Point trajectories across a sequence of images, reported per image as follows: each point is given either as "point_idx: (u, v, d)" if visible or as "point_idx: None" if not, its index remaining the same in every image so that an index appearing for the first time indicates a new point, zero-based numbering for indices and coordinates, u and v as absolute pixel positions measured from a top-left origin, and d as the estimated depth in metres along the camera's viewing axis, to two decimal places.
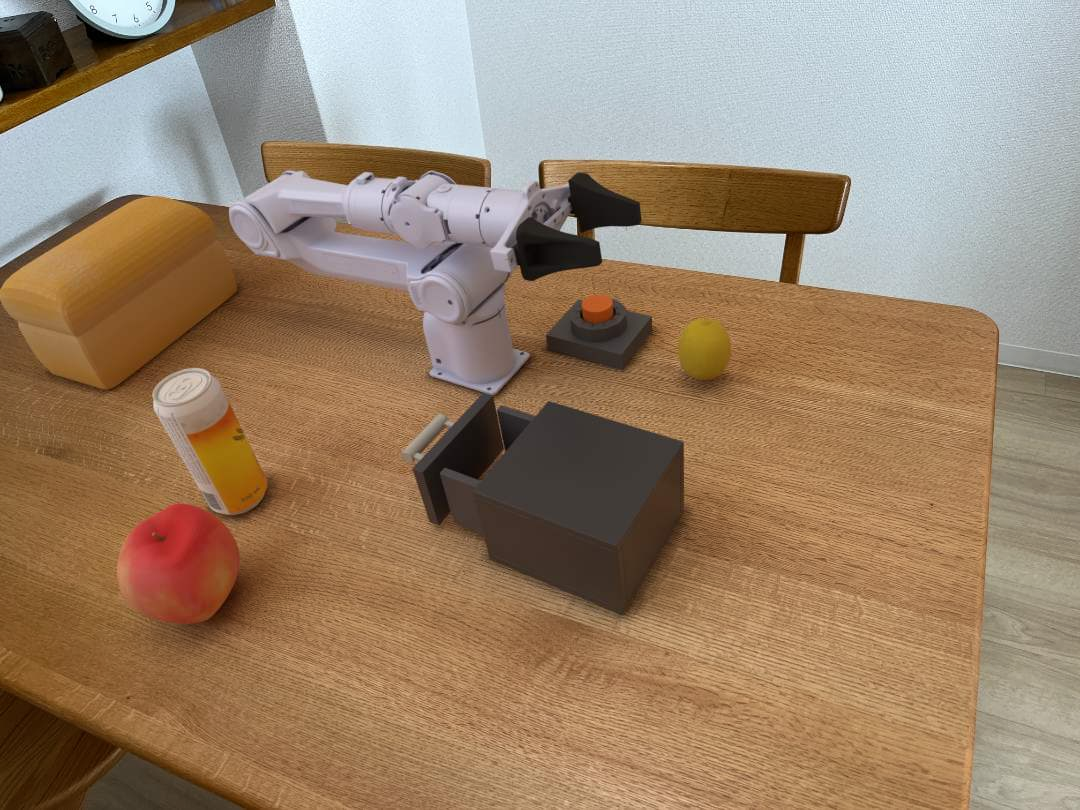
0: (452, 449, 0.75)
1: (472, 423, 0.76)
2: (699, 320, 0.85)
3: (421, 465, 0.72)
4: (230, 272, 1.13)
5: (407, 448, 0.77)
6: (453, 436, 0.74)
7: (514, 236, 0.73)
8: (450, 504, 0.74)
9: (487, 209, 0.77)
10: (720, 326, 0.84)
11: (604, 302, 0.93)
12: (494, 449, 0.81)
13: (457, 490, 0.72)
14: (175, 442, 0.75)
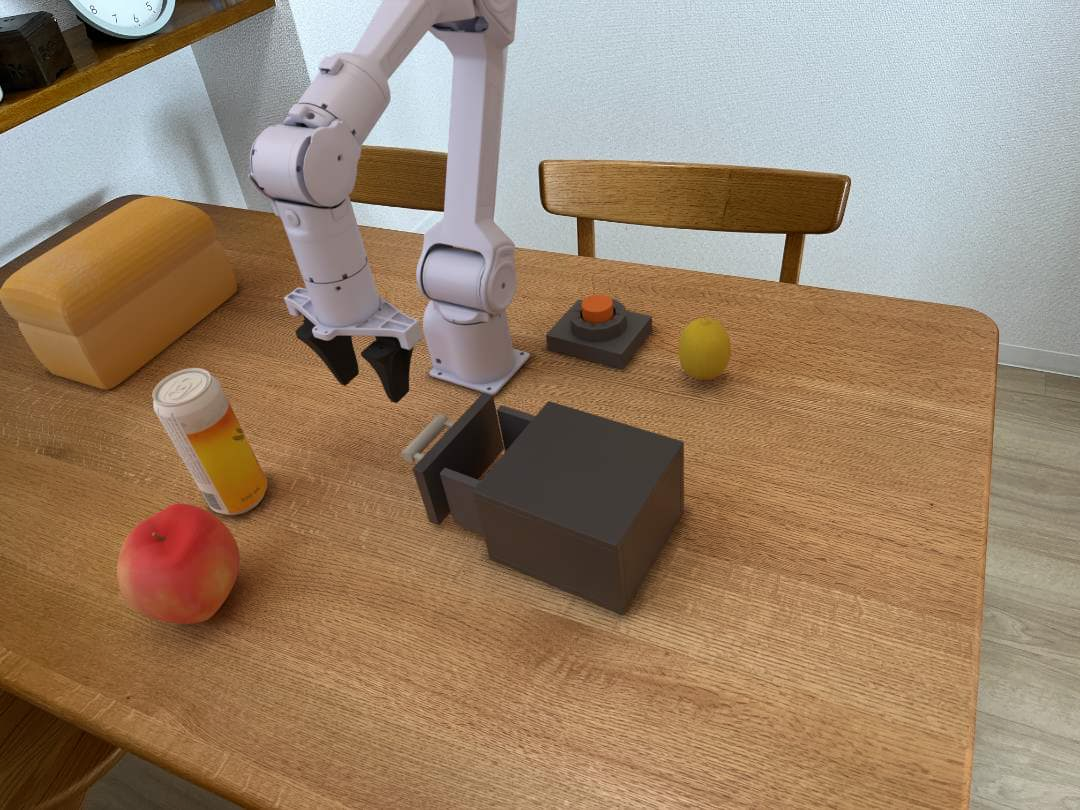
0: (452, 449, 0.75)
1: (472, 423, 0.76)
2: (699, 320, 0.85)
3: (421, 465, 0.72)
4: (230, 272, 1.13)
5: (407, 448, 0.77)
6: (453, 436, 0.74)
7: (308, 311, 0.74)
8: (450, 504, 0.74)
9: None
10: (720, 326, 0.84)
11: (604, 302, 0.93)
12: (494, 449, 0.81)
13: (457, 490, 0.72)
14: (175, 442, 0.75)
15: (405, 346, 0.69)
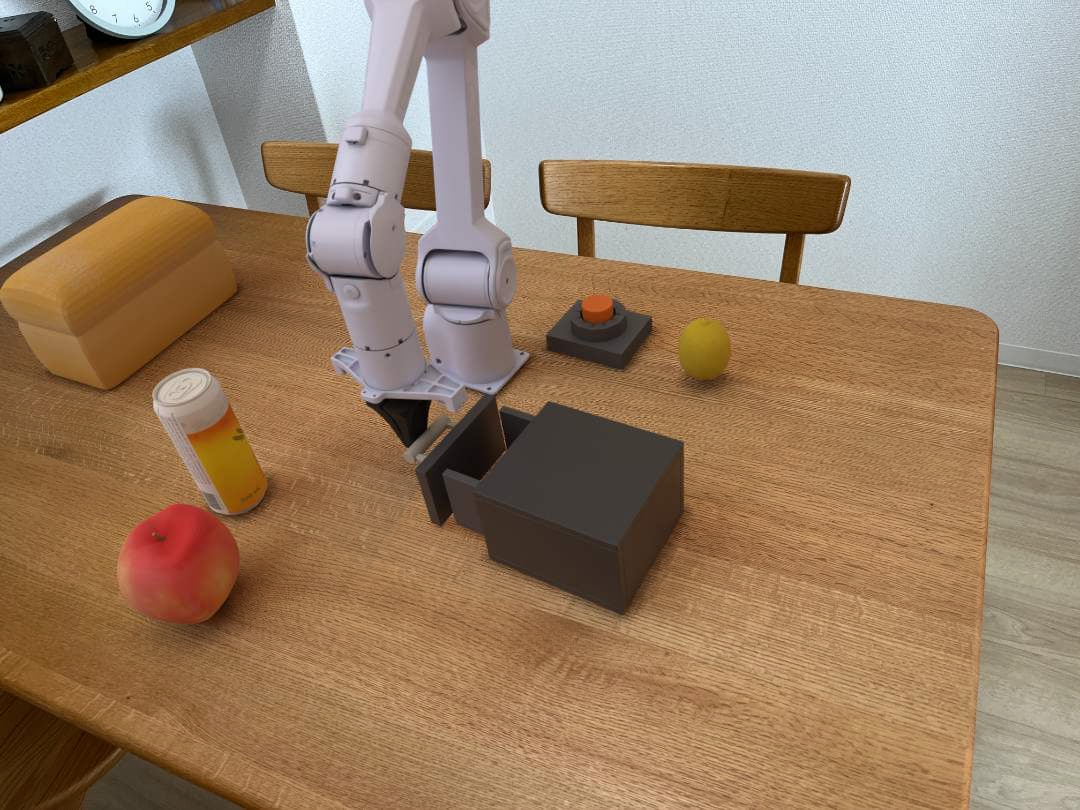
0: (455, 450, 0.74)
1: (474, 424, 0.76)
2: (699, 320, 0.85)
3: (423, 466, 0.72)
4: (230, 272, 1.13)
5: (409, 449, 0.77)
6: (455, 437, 0.74)
7: None
8: (452, 505, 0.74)
9: None
10: (720, 326, 0.84)
11: (604, 302, 0.93)
12: (496, 450, 0.81)
13: (459, 491, 0.71)
14: (175, 442, 0.75)
15: (451, 409, 0.71)
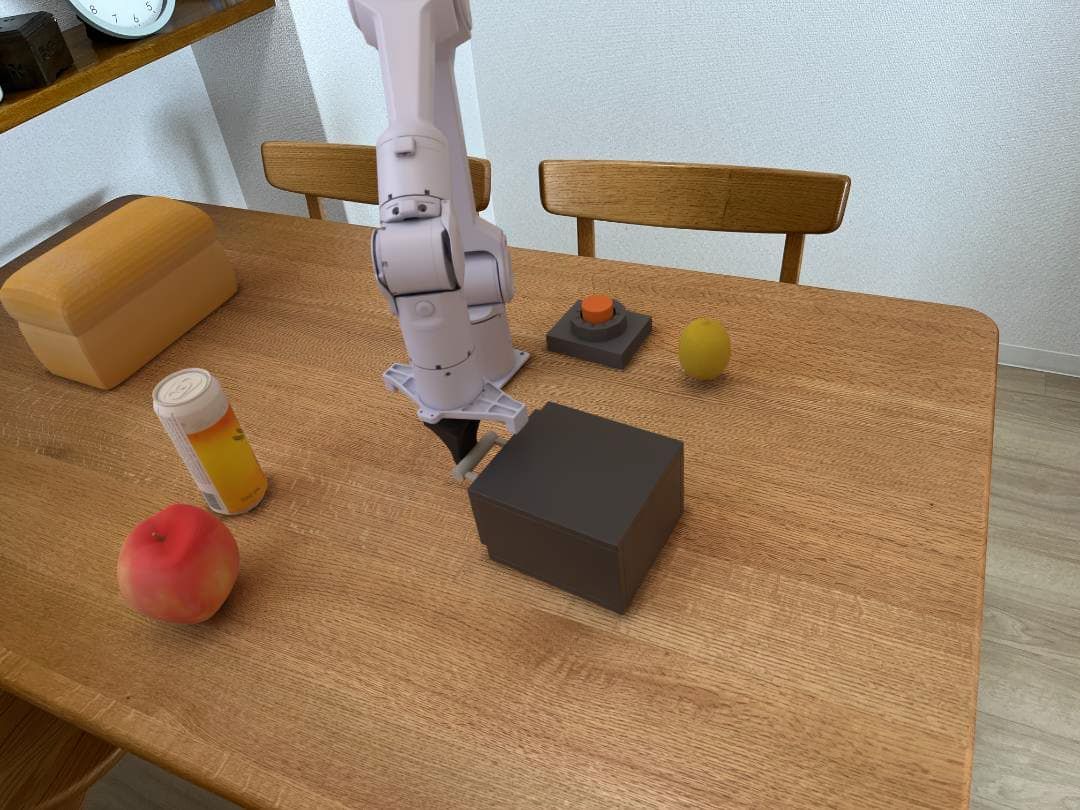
0: None
1: None
2: (699, 320, 0.85)
3: None
4: (230, 272, 1.13)
5: (458, 467, 0.74)
6: None
7: None
8: None
9: None
10: (720, 326, 0.84)
11: (604, 302, 0.93)
12: None
13: None
14: (175, 442, 0.75)
15: (512, 430, 0.68)
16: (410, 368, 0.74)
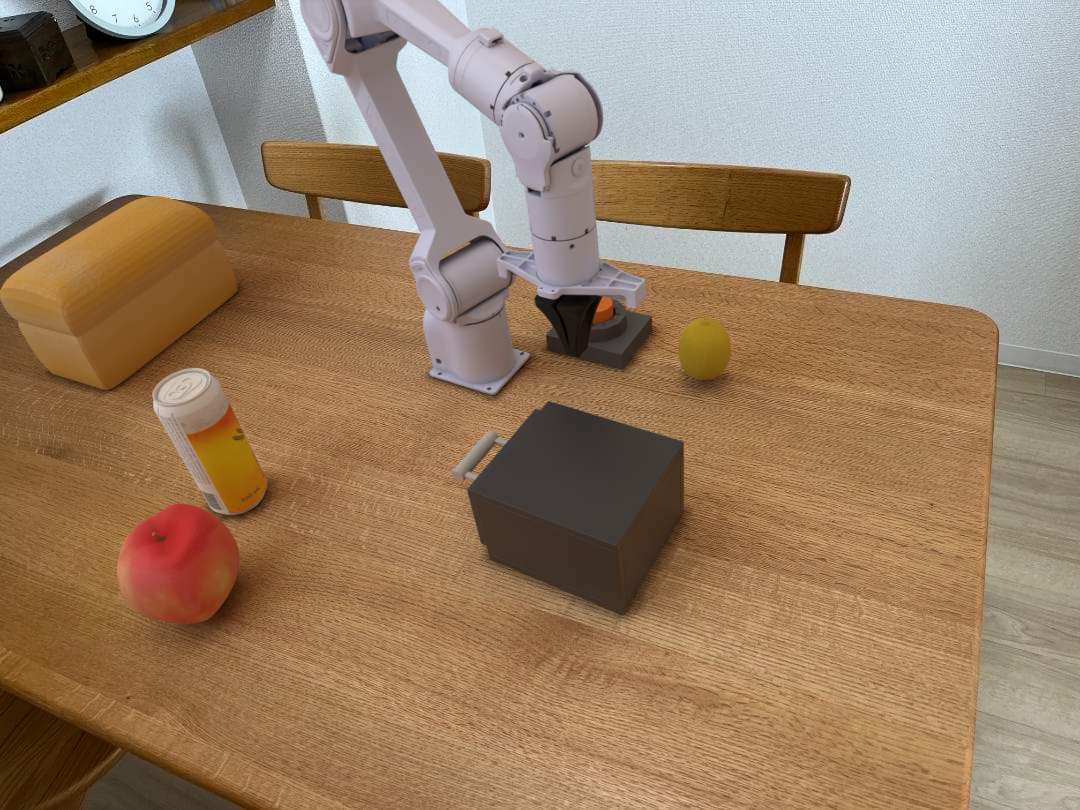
0: None
1: None
2: (699, 320, 0.85)
3: None
4: (230, 272, 1.13)
5: (458, 467, 0.74)
6: None
7: None
8: None
9: None
10: (720, 326, 0.84)
11: (604, 302, 0.93)
12: None
13: None
14: (175, 442, 0.75)
15: (632, 305, 0.70)
16: (523, 254, 0.76)
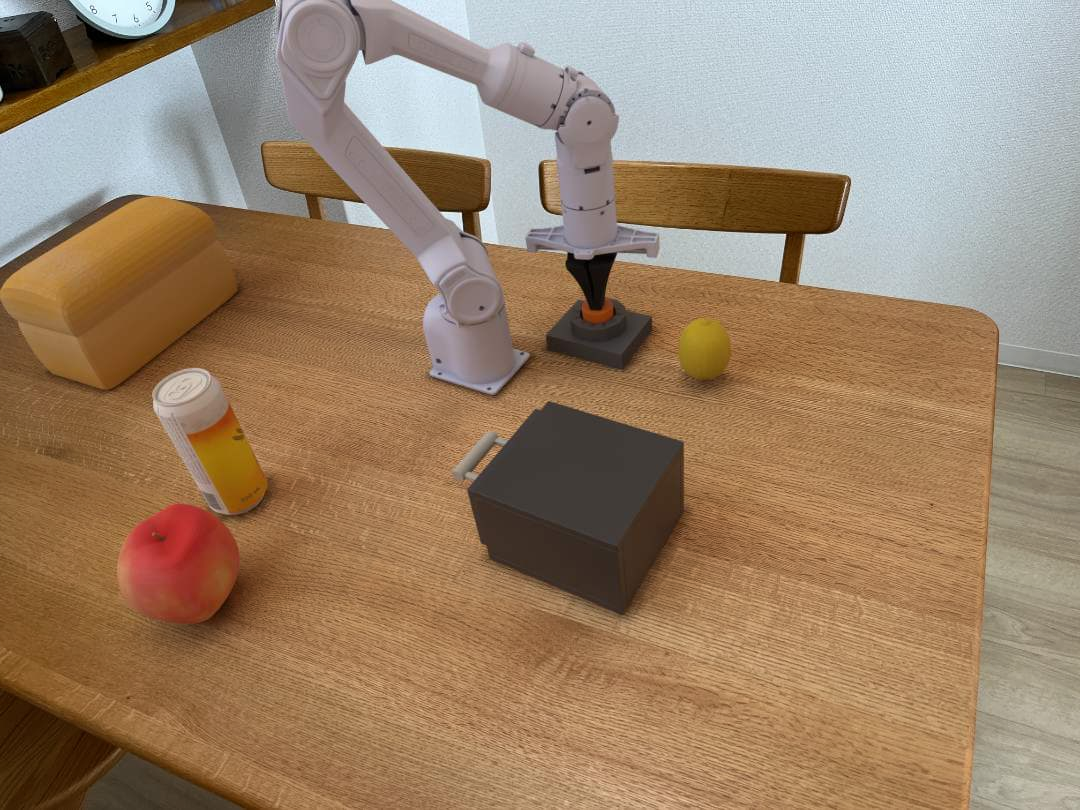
0: None
1: None
2: (699, 320, 0.85)
3: None
4: (231, 272, 1.13)
5: (458, 467, 0.74)
6: None
7: None
8: None
9: None
10: (720, 326, 0.84)
11: (604, 304, 0.93)
12: None
13: None
14: (175, 442, 0.75)
15: (652, 255, 0.86)
16: (545, 230, 0.90)
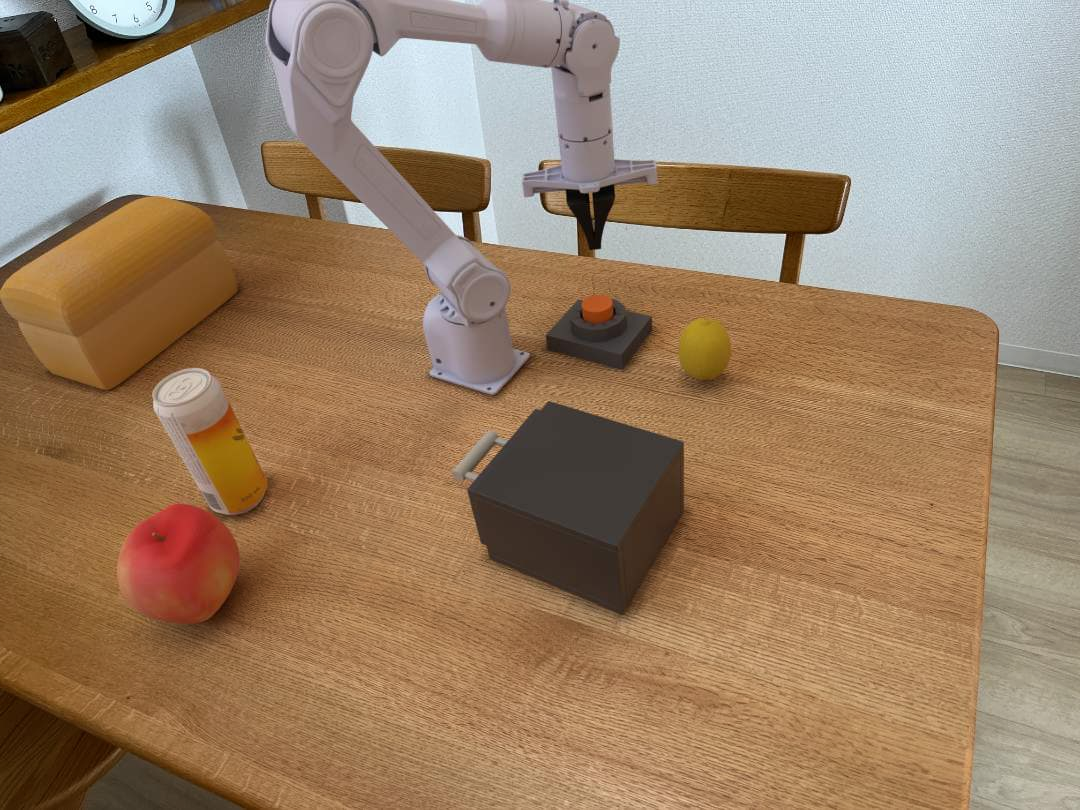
0: None
1: None
2: (699, 320, 0.85)
3: None
4: (231, 272, 1.13)
5: (458, 467, 0.74)
6: None
7: None
8: None
9: None
10: (720, 326, 0.84)
11: (604, 302, 0.93)
12: None
13: None
14: (175, 442, 0.75)
15: (653, 181, 0.87)
16: (538, 173, 0.89)
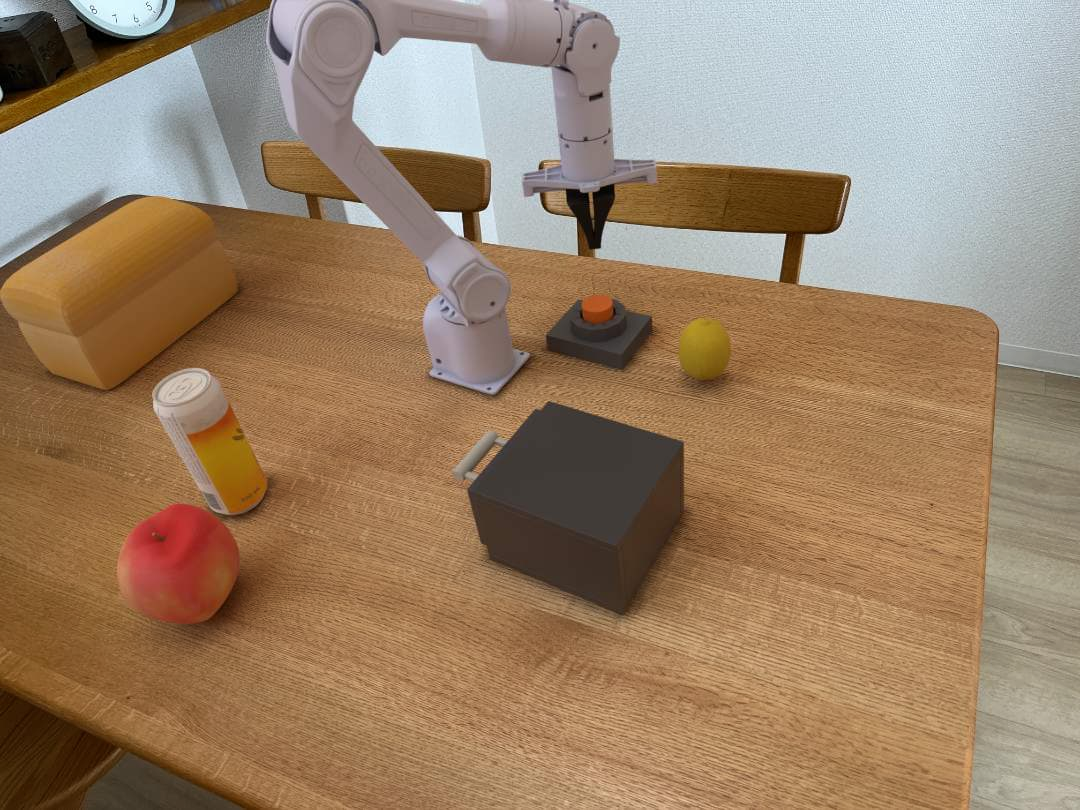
0: None
1: None
2: (699, 320, 0.85)
3: None
4: (231, 272, 1.13)
5: (458, 467, 0.74)
6: None
7: None
8: None
9: None
10: (720, 326, 0.84)
11: (604, 302, 0.93)
12: None
13: None
14: (175, 442, 0.75)
15: (653, 181, 0.87)
16: (538, 173, 0.89)
